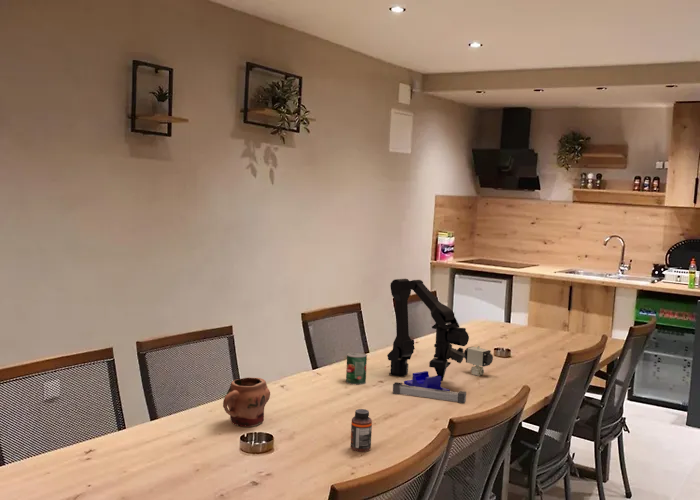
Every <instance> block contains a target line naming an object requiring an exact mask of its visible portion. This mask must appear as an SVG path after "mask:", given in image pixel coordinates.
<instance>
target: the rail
mask: <svg viewBox="0 0 700 500" xmlns="http://www.w3.org/2000/svg"><path fill="white" fill-rule="evenodd" d="M392 395H403V396H404V395H405V396H411V397H412V396H413V397H420V398H426V399H434V400H441V401H448V402H454V403H458V404H466V402H467V391H465V390H459V391H452V390H450V391H445V390H437V389H430V388H423V387H415V386H409V385H406V384H403V383H402V382H398V381H397V382H394V383H393V384H392Z"/></svg>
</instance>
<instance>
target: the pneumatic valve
mask: <svg viewBox="0 0 700 500" xmlns="http://www.w3.org/2000/svg"><path fill="white" fill-rule="evenodd" d="M463 352H464V353H465V356H464V358H463V359H465V363H466V364H471V365H472V366H471V368H470V372H471V373H470V374H471V375H473V376H477V377H480V376H482V375H484V374H485V370H484V368H485V367H488V366H490V365H491V364H493V363H492V362H493V360H494V355H493V354H492V353H491V350H490V349H485V348H481V347H480V346H477V347H476V346H470V347H467V348H465V350H463Z"/></svg>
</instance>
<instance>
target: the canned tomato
mask: <svg viewBox="0 0 700 500" xmlns="http://www.w3.org/2000/svg"><path fill="white" fill-rule="evenodd" d="M367 357H368V354H366V353H364V352H358V351H357V352H356V351H354V352H353V351H351V352H348V353H346V373H345V375H346V376H345V382H346V383H347V384H350V385H353V384H356V385H355V386H357V385H359V386H360V385H361V386H362V385H365V384H366V383H367V365H368V364H367V361H368V360H367V359H368V358H367Z"/></svg>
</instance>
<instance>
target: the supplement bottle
mask: <svg viewBox="0 0 700 500" xmlns="http://www.w3.org/2000/svg"><path fill="white" fill-rule="evenodd" d="M350 426H351V427H350V429H351V431H350V449H351V450H352V451H355V452H359V453H363V452H365V453H366V452H368V451H370V450H371V449H372V448H371V447H372V434H373V433H372V429H373V420H372V418H371V417H370V411H369V410H368V409H366V408H365V409H364V408H358V409H355V411H354V416H353V417H352V418H351V425H350Z"/></svg>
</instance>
